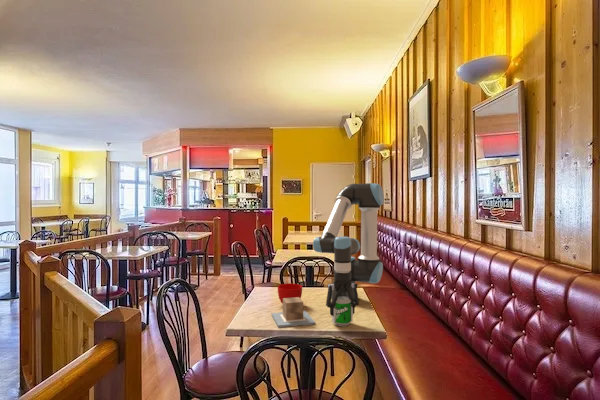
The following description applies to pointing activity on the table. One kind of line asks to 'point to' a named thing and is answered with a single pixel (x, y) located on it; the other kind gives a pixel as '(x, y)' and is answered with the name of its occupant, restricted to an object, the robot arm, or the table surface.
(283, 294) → the ceramic cup
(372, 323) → the table surface
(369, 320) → the table surface
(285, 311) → the walnut block
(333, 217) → the robot arm
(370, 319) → the table surface
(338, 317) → the soda can
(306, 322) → the baseplate
